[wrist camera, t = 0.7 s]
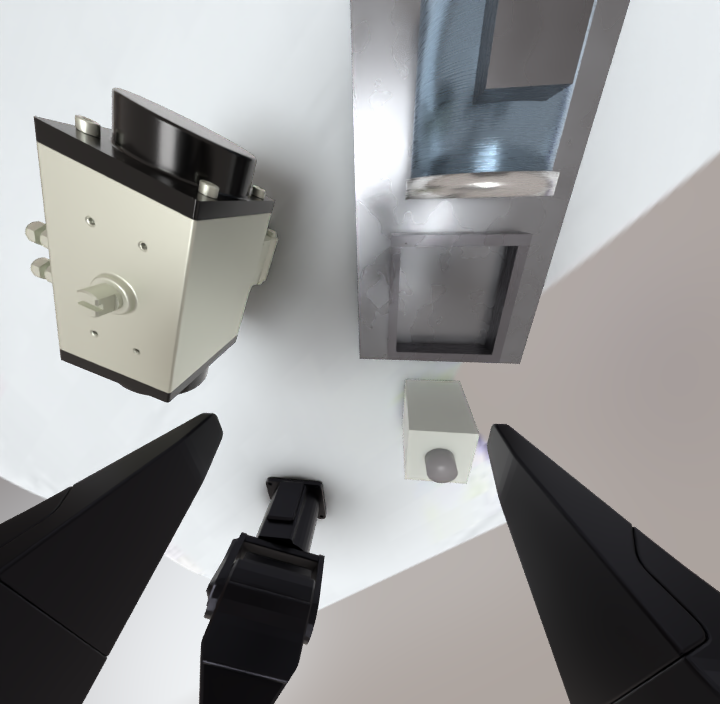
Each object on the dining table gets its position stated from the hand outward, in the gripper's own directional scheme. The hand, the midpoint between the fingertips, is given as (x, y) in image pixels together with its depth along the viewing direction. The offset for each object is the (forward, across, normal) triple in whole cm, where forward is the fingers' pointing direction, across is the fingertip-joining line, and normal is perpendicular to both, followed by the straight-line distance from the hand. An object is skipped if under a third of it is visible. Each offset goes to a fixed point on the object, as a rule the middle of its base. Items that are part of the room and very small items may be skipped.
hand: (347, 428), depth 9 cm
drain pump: (+13, -5, +10) cm, 17 cm away
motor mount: (+13, -5, -5) cm, 15 cm away
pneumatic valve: (+13, +9, -4) cm, 16 cm away
